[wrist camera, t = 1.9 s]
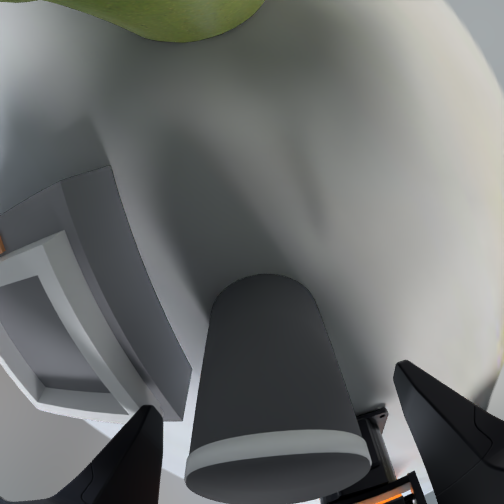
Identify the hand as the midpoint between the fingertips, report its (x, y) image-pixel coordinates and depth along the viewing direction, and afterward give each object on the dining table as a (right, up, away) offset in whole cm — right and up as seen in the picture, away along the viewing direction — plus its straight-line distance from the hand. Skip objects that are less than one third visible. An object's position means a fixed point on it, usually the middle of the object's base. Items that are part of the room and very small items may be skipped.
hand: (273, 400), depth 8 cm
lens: (0, +2, +4) cm, 5 cm away
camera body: (-10, +3, +4) cm, 11 cm away
